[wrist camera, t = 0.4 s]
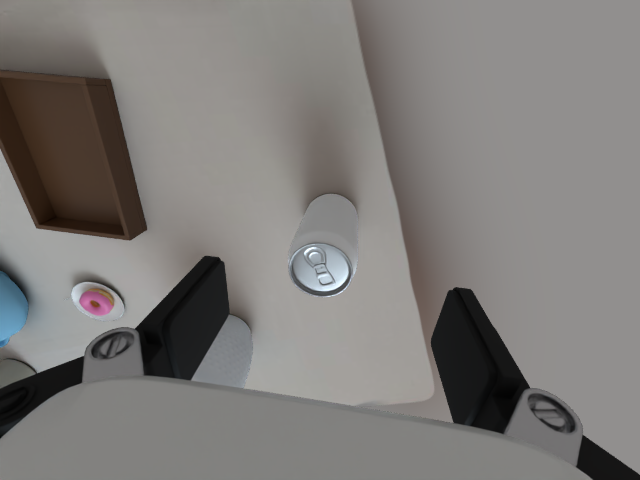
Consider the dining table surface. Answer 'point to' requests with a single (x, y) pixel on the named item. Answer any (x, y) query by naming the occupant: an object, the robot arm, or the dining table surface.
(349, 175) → the dining table surface
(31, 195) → the tray
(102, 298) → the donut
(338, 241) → the can
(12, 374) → the travel mug
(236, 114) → the dining table surface
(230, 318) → the mug
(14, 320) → the teapot
